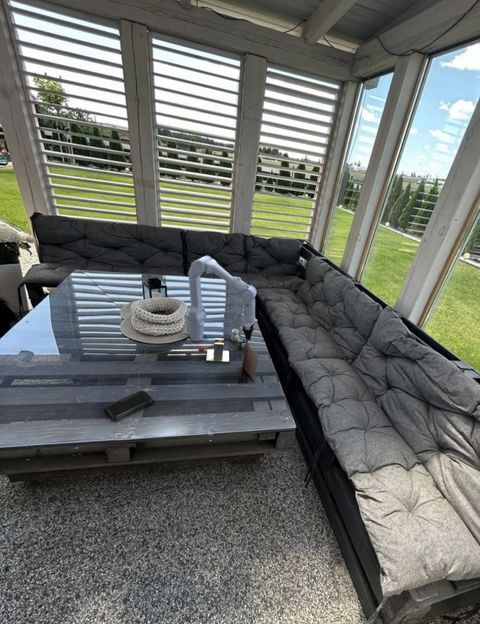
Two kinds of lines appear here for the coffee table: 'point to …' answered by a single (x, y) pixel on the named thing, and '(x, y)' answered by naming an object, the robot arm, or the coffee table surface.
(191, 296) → the robot arm
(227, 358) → the tap bracket
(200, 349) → the lever
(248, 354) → the greeting card
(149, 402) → the phone
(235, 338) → the valve
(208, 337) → the coffee table surface
